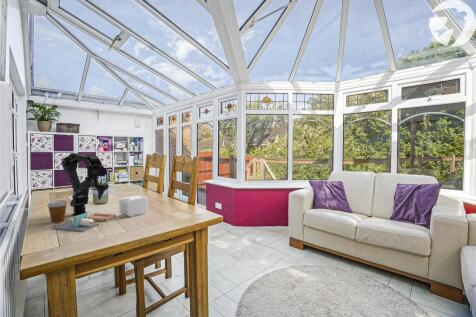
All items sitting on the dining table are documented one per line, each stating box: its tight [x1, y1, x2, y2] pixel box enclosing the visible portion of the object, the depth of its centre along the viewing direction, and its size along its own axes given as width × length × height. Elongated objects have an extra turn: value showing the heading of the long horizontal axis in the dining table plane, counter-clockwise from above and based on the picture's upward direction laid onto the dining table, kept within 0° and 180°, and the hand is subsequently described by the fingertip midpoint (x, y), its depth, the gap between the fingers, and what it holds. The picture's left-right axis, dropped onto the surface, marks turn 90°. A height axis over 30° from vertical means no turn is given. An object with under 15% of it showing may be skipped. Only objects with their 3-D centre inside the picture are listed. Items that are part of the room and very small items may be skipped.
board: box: [52, 220, 100, 233], centre depth 132 cm, size 20×11×1 cm, turn 78°
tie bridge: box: [73, 212, 89, 228], centre depth 132 cm, size 2×7×6 cm, turn 168°
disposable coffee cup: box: [47, 200, 68, 224], centre depth 142 cm, size 10×10×12 cm
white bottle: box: [72, 218, 95, 226], centre depth 132 cm, size 11×4×4 cm, turn 78°
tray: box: [88, 212, 117, 223], centre depth 148 cm, size 16×9×2 cm, turn 78°
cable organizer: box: [118, 194, 149, 218], centre depth 157 cm, size 15×11×12 cm
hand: (93, 199), depth 150 cm, fingers open, 9 cm apart
